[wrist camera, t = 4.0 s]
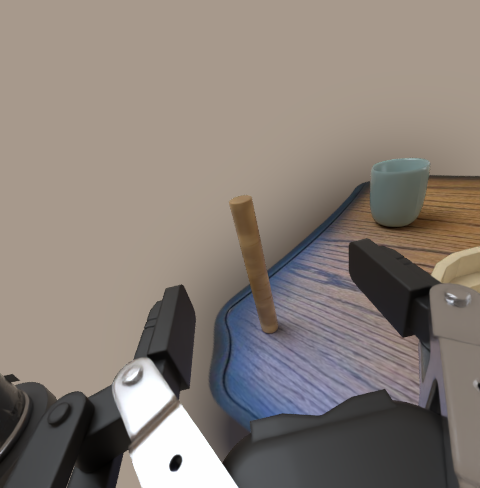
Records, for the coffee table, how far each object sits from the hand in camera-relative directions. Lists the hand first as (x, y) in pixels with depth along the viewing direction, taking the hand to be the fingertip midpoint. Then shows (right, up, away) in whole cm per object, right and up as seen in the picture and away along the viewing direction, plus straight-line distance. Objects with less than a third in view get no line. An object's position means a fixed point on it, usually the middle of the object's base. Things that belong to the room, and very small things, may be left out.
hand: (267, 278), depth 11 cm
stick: (+2, -8, +16) cm, 18 cm away
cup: (+26, +5, +30) cm, 40 cm away
